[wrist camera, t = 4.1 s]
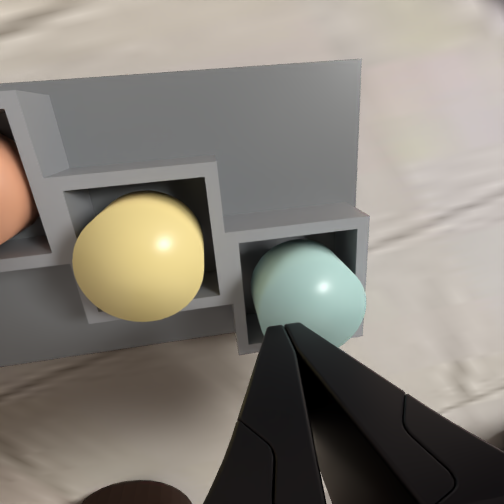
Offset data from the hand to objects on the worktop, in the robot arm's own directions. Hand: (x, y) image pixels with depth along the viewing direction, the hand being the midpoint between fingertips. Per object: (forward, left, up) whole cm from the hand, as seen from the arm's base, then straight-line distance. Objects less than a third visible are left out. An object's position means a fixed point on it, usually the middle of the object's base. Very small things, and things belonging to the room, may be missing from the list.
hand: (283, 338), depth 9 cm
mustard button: (+4, -2, -4) cm, 5 cm away
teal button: (-1, 0, -4) cm, 4 cm away
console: (+4, -2, -6) cm, 7 cm away
